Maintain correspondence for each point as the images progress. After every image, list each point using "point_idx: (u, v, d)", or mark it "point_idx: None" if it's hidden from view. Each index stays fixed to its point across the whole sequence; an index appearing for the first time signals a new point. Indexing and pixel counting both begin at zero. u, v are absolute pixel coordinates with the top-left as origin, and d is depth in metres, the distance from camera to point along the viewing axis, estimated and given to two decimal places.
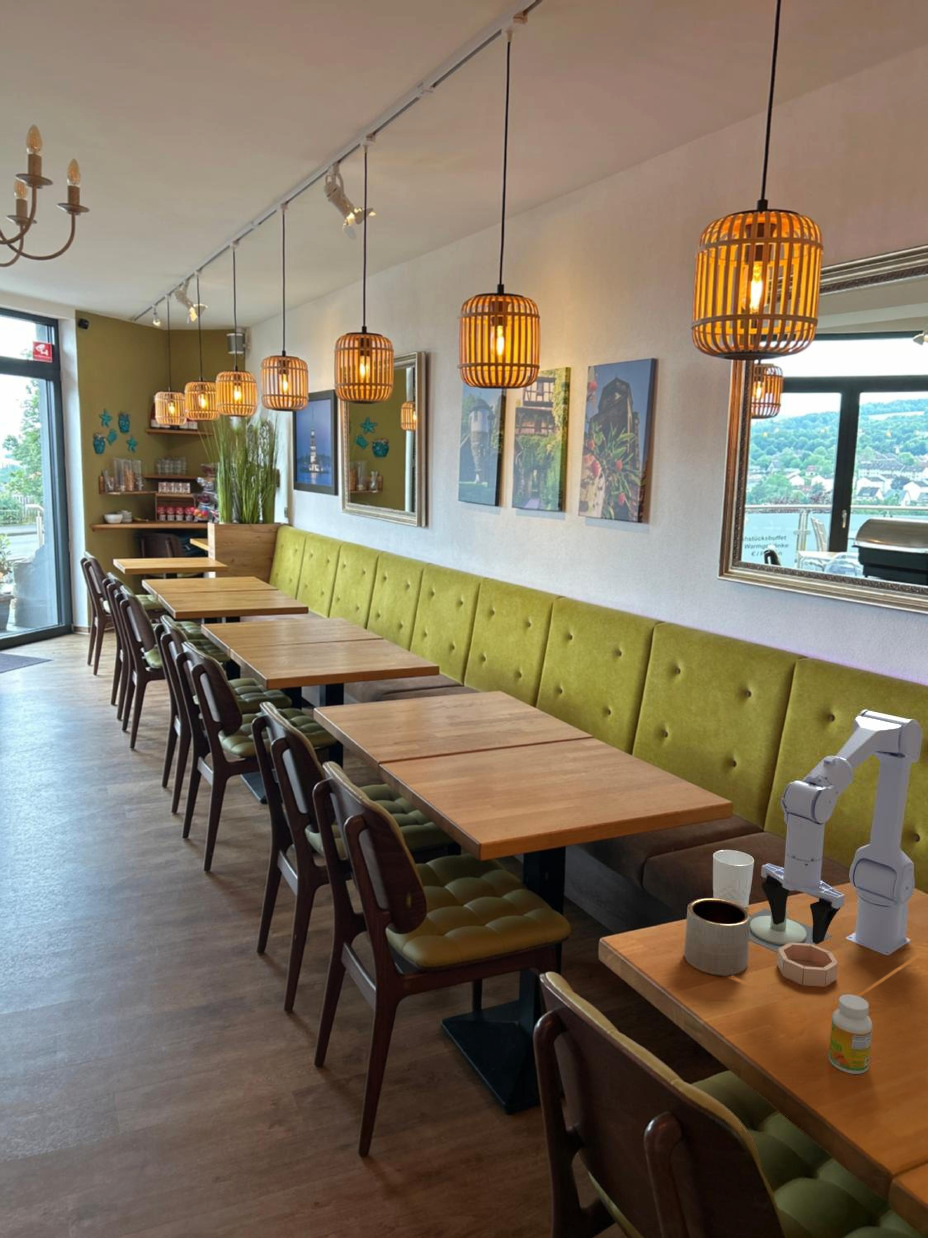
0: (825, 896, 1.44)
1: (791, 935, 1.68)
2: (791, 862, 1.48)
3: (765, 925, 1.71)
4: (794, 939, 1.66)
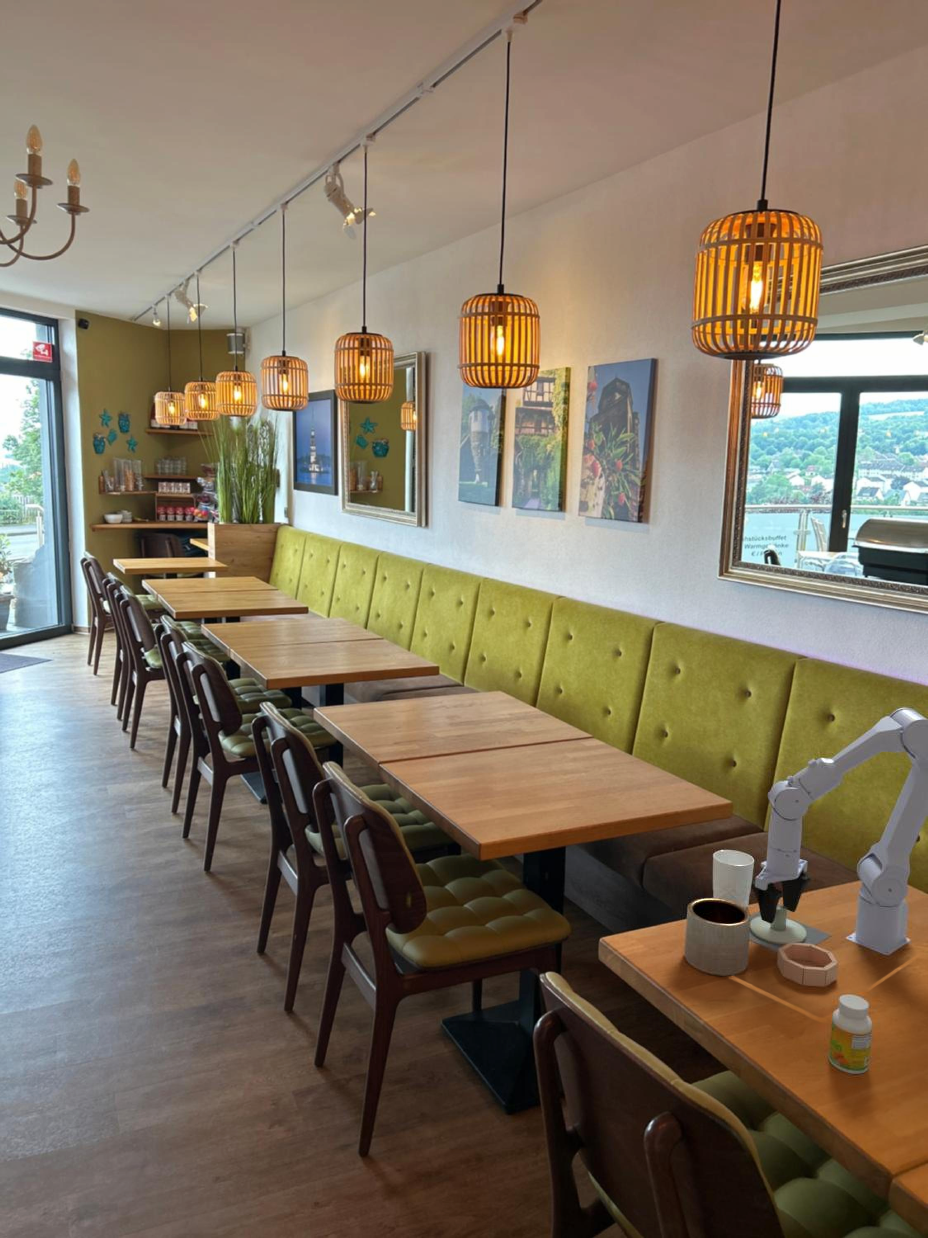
0: None
1: (791, 935, 1.68)
2: None
3: (765, 925, 1.71)
4: (794, 939, 1.66)
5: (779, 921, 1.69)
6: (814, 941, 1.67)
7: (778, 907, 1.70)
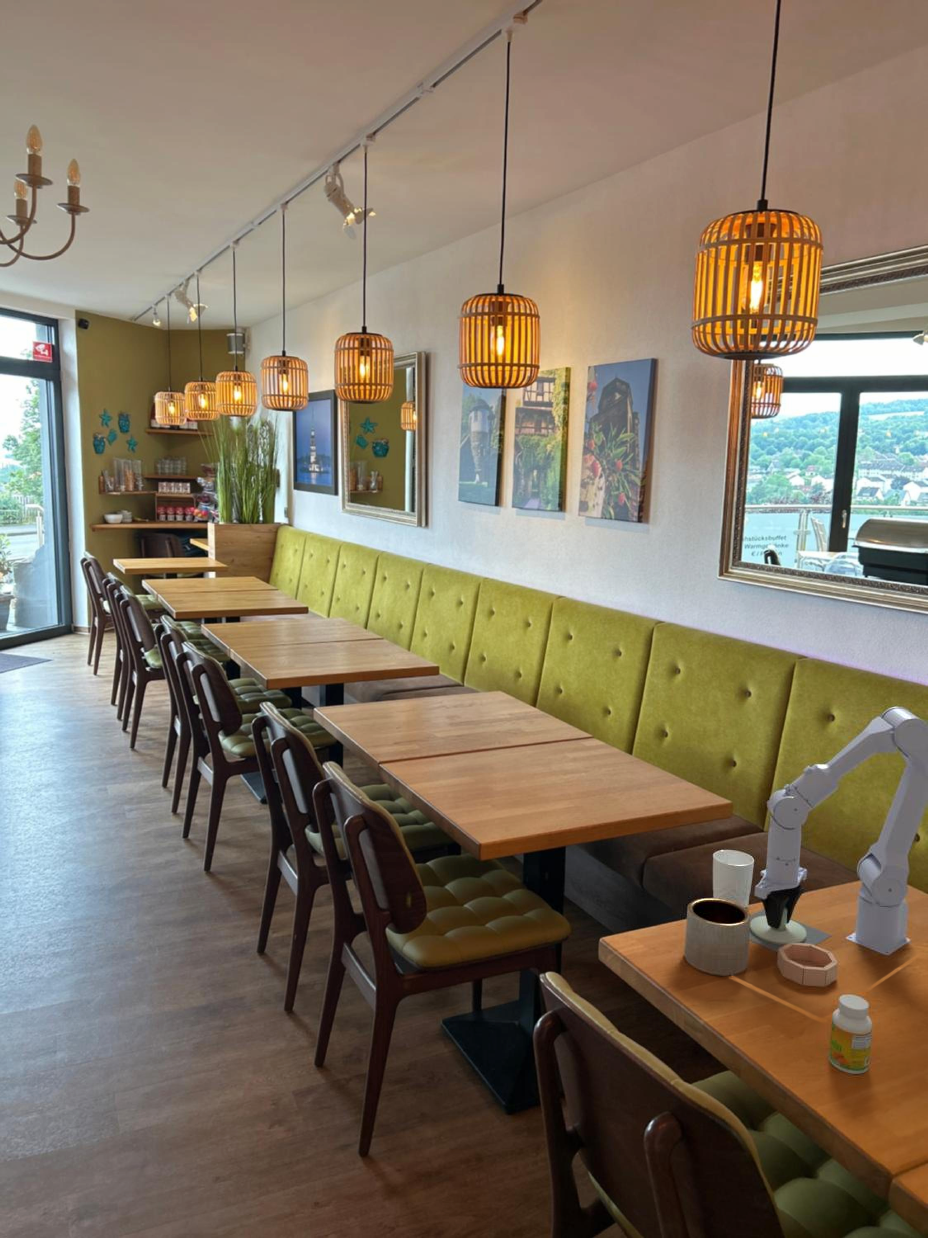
0: None
1: (791, 935, 1.68)
2: None
3: (765, 925, 1.71)
4: (794, 939, 1.66)
5: None
6: (814, 941, 1.67)
7: None
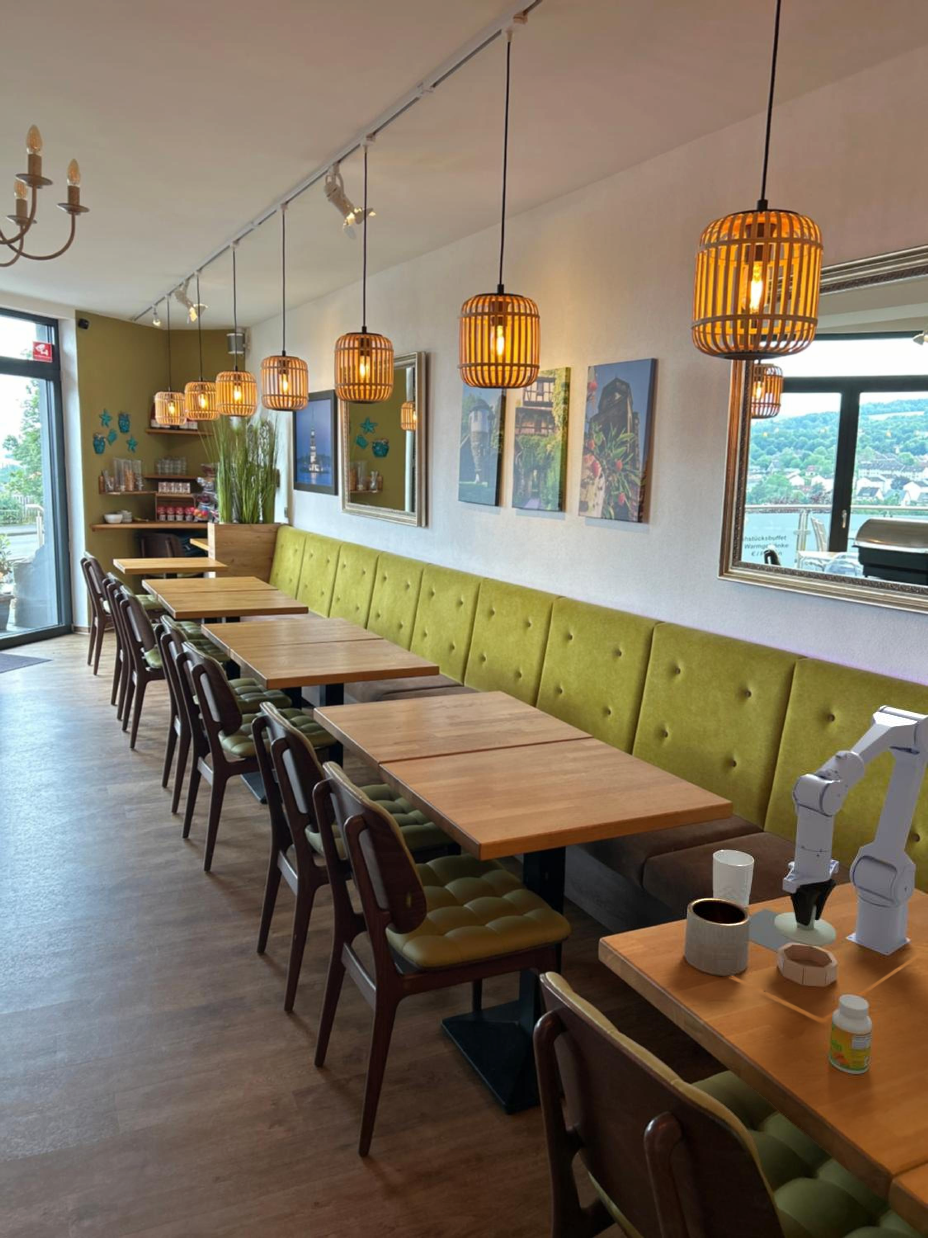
0: None
1: (819, 935, 1.54)
2: None
3: (791, 922, 1.58)
4: (822, 940, 1.52)
5: None
6: None
7: None
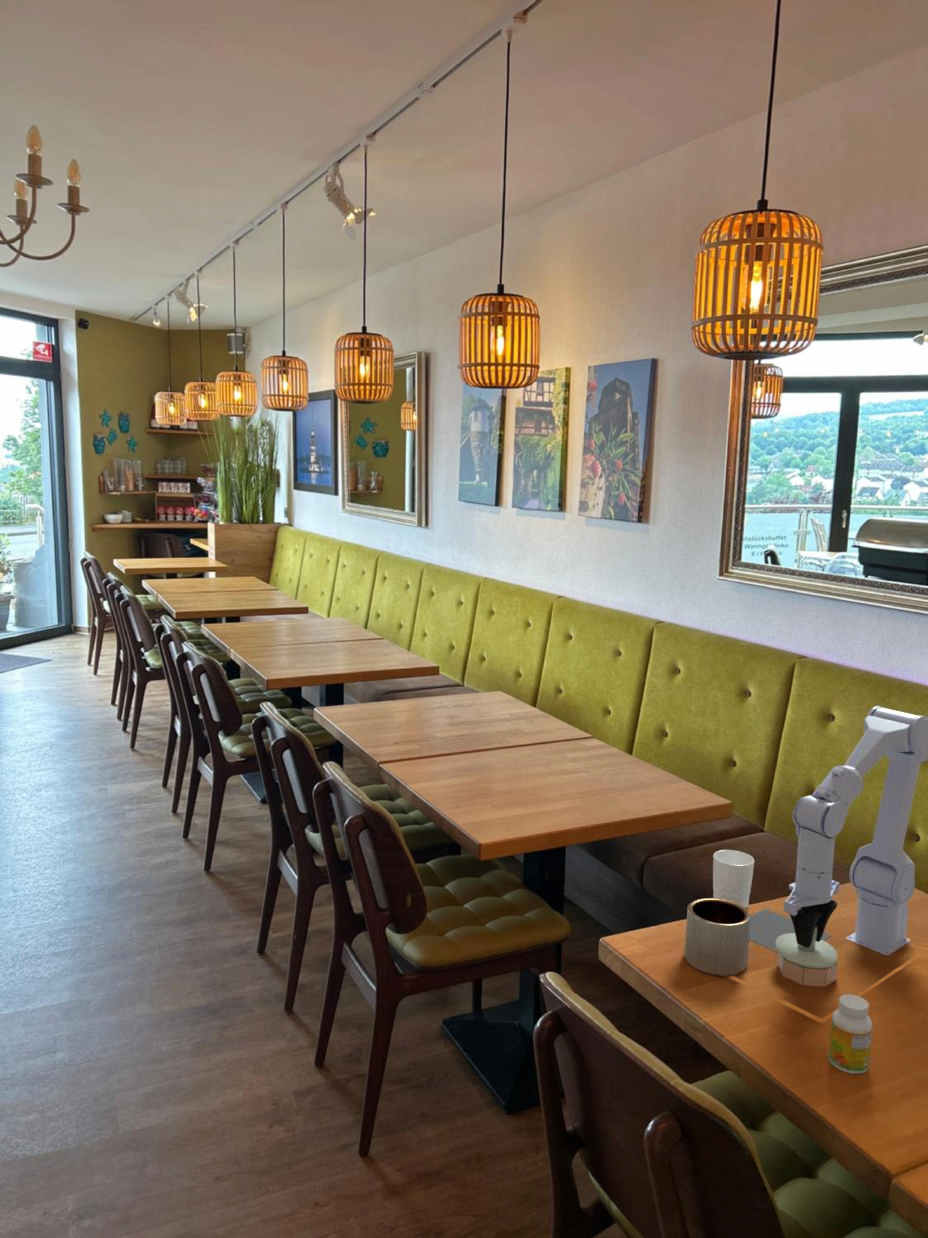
0: None
1: (820, 957, 1.53)
2: None
3: (792, 944, 1.57)
4: (823, 962, 1.52)
5: None
6: None
7: None
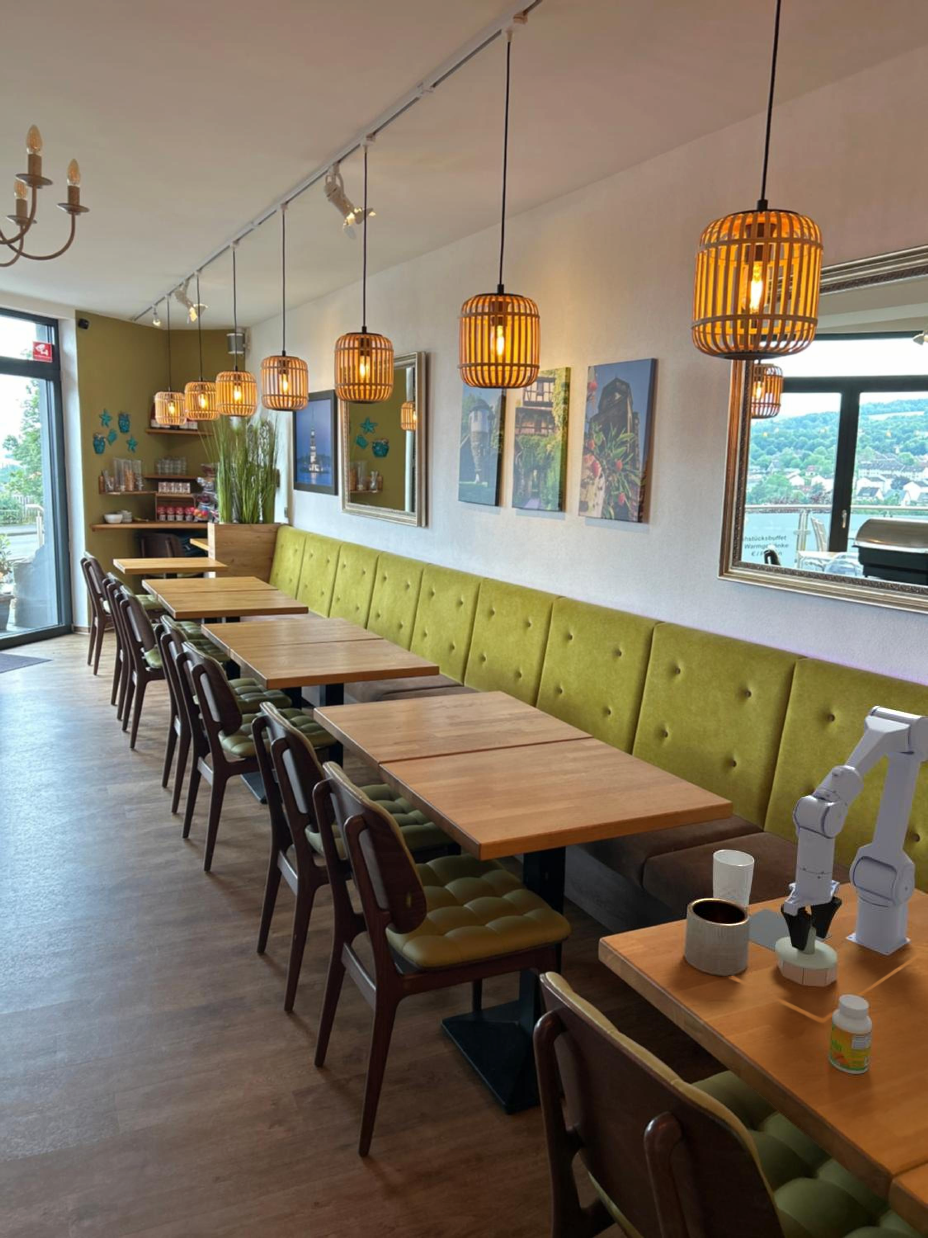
0: None
1: (820, 959, 1.53)
2: None
3: (792, 947, 1.57)
4: (823, 963, 1.52)
5: None
6: None
7: None
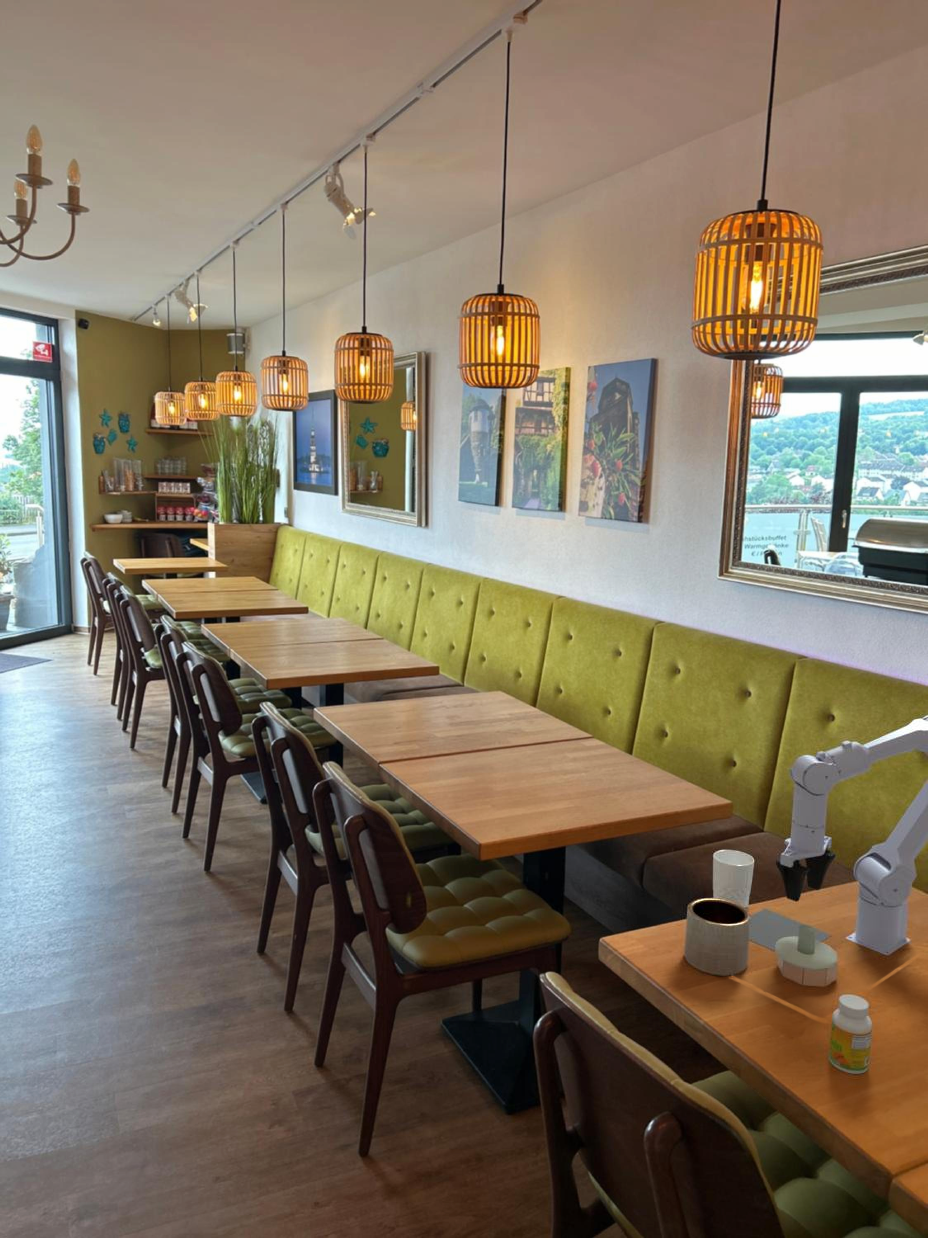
0: None
1: (820, 959, 1.53)
2: None
3: (792, 947, 1.57)
4: (823, 963, 1.52)
5: (806, 943, 1.55)
6: None
7: (806, 928, 1.56)
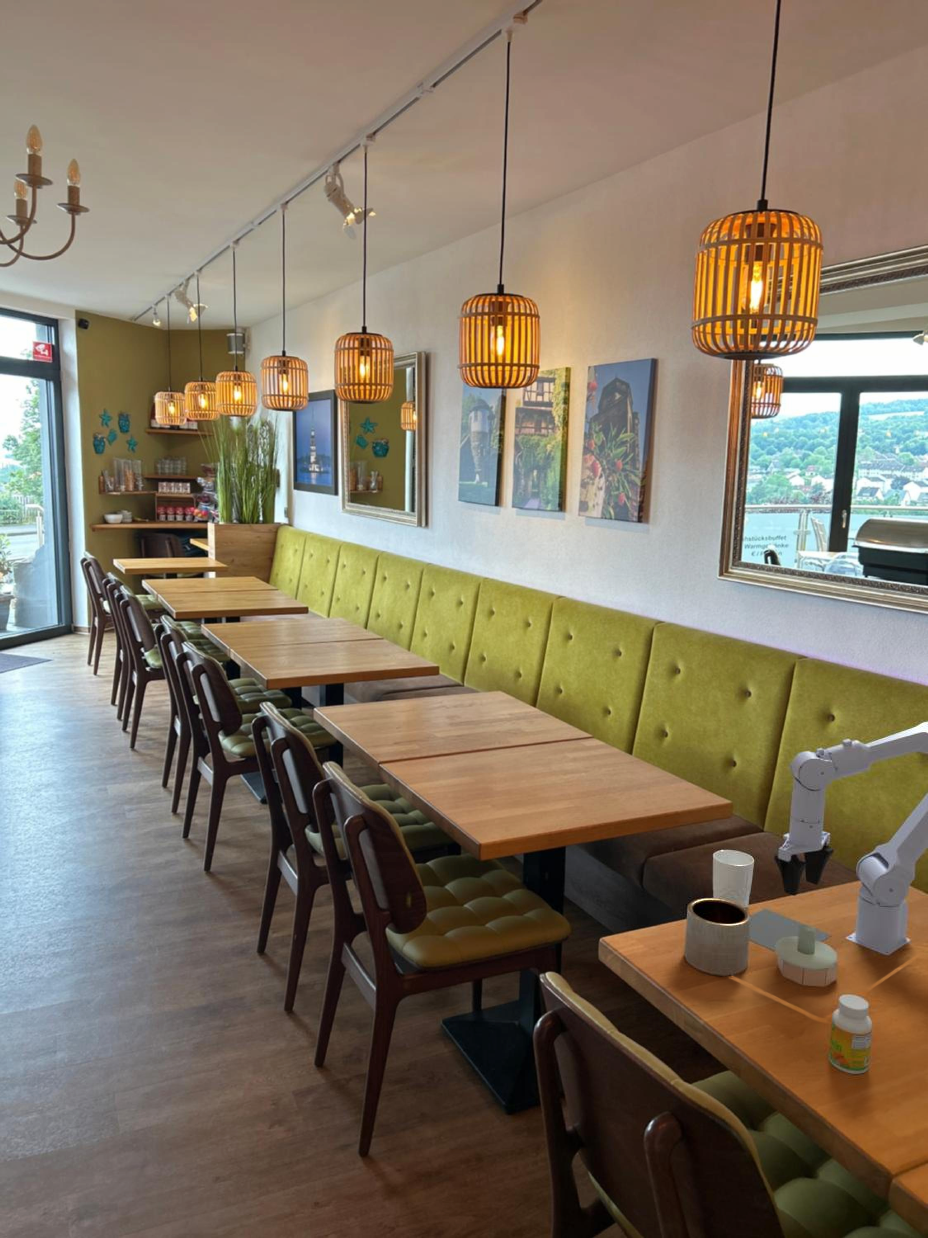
0: None
1: (820, 959, 1.53)
2: None
3: (792, 947, 1.57)
4: (823, 963, 1.52)
5: (806, 943, 1.55)
6: None
7: (806, 928, 1.56)
